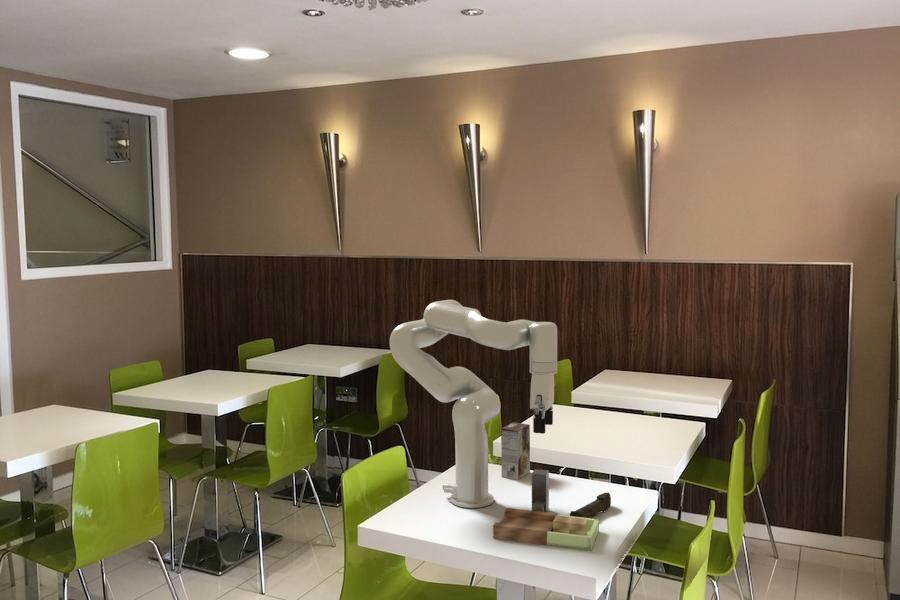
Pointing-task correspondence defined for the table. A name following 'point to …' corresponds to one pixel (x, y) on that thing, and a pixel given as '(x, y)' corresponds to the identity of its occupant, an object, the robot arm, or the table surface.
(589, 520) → the tray
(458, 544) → the table surface
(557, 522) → the light brown cube
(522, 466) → the coffee box
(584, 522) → the light brown wooden block
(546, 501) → the cube with crossbar
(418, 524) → the table surface
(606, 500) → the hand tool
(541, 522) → the slot board
